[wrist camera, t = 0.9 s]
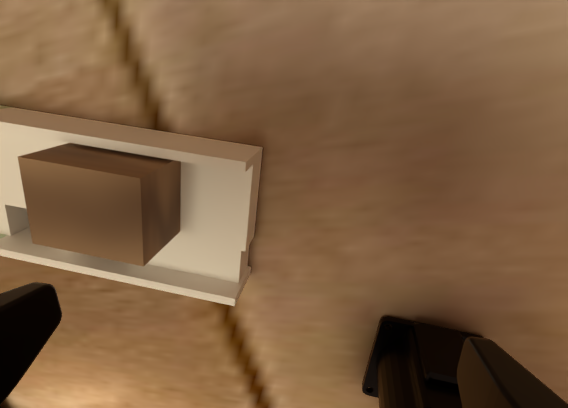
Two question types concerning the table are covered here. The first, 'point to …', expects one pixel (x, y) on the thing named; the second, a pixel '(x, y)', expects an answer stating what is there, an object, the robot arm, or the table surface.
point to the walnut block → (101, 201)
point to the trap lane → (193, 211)
